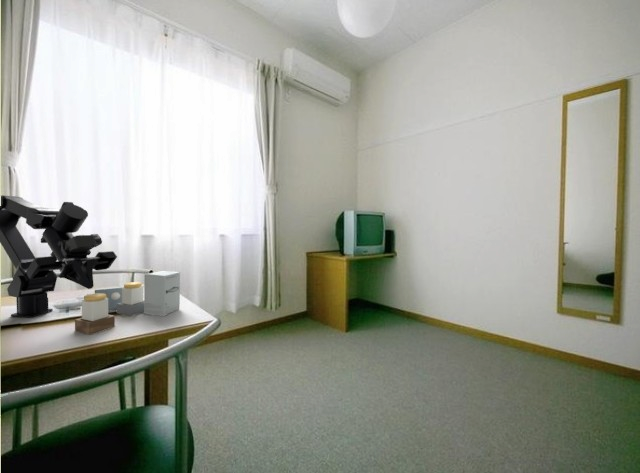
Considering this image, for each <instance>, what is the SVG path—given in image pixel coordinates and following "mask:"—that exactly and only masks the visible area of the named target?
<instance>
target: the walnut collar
mask: <svg viewBox="0 0 640 473" xmlns="http://www.w3.org/2000/svg"><path fill="white" fill-rule="evenodd" d="M115 319H116V316H115V315H113V314H108V317H105V318H102V319H98V320H95V321H89V320H84V319H82V317H80V318H76V319H74V331H75V332H78V333H82V334H87V335H90V336H91V335H94V334H97V333H100V332H103V331H107V330H109V329H112V328H115V327H116V325H115V323H116V322H115V321H116V320H115Z"/></svg>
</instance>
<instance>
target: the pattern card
mask: <svg viewBox="0 0 640 473" xmlns="http://www.w3.org/2000/svg"><path fill="white" fill-rule="evenodd" d="M122 287H123V286H119V287H116V286H115V287H107V288H106V287H104V288H97V289H96V288H95V289H94V294H96V293H104V294H106V298H108V312H111V311H110V310H114V311H117V303H121V302H122Z"/></svg>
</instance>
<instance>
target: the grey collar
mask: <svg viewBox="0 0 640 473" xmlns="http://www.w3.org/2000/svg"><path fill="white" fill-rule="evenodd" d="M142 313H144V299H143V302H140V303H137V304H133V305H128V304H123V303H122V302H121V303H117V310H116V314H119V315H123V316H127V317H128V316H130V317H132V316H135V315H139V314H142Z"/></svg>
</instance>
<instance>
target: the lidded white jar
mask: <svg viewBox="0 0 640 473" xmlns="http://www.w3.org/2000/svg"><path fill="white" fill-rule="evenodd" d="M108 315H109V311H108V298H106V294H104V293H96V294H95V293H89V294H86V295H84V296H83V299H82V300H81V318H82V319H84V320H89V321H95V320H98V319H102V318H105V317H108Z"/></svg>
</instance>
